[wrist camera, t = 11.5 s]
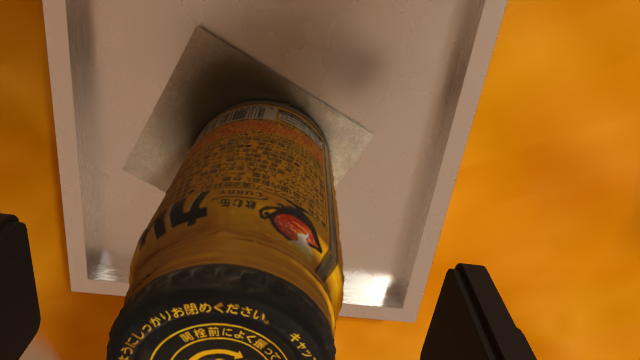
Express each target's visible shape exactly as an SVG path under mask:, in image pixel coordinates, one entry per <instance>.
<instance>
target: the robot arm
mask: <svg viewBox="0 0 640 360" xmlns="http://www.w3.org/2000/svg"><path fill="white" fill-rule="evenodd" d="M40 320H41V317H40V310H39V304H38V297H37V291H36V285H35V278H34V272H33V266H32V259H31V253H30V247H29V240H28V234H27V228H26V225H25V224H24V223H22V222H19V220H18V218H17V217H16V216H15V215H11V214H2V213H0V360H19V358H20V357H21V355H22V354H23V352H24V351H25V350H26V348H27V347H28V345H29V344H30V342H31V341H32V339H33V338H34V336H35V335H36V333H37V331H38V329H39V326H40ZM420 360H537V359H536V357H535V355H534V353H533V351H532V349H531V347H530V346H529V344H528V342H527V340H526V338H525V336H524V334H523V333H522V332H521V330H520V329H518V328H517V327H516V326H515V324H514V322H513V320H512V318H511V316H510V314H509V312H508V310H507V308H506V306H505V304H504V302H503V300H502V298H501V296H500V295H499V293H498V291H497V289H496V287H495V285H494V283H493V281H492V279H491V277H490V275H489V273H488V271H487V269H486V268H485V267H484V266H481V265H472V264H463V263H459V264H457V265H456V267H455V269H449V270H448V271H447V273H446V276H445V279H444V283H443V286H442V289H441V292H440V295H439V298H438V301H437V304H436V307H435V311H434V314H433V317H432V320H431V323H430V326H429V329H428V332H427V336H426V339H425V342H424V345H423V348H422V351H421V356H420Z"/></svg>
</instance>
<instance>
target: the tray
mask: <svg viewBox="0 0 640 360" xmlns="http://www.w3.org/2000/svg"><path fill="white" fill-rule="evenodd" d="M42 3H43V13H44V23H45V33H46V43H47V53H48V63H49V73H50V83H51V93H52V103H53V113H54V123H55V133H56V143H57V153H58V163H59V173H60V183H61V193H62V203H63V213H64V223H65V233H66V243H67V253H68V263H69V273H70V283H71V291H73V292H84V293H95V294H106V295H117V296H126V293H127V291H128V289H129V275H130V266H131V261H132V258H133V255H134V252H135V250H136V247H137V243H138V241H139V239H140V237H141V235H142V233H143V232H144V230H145V229H146V228H147V226H148V224H149V222H150V221H151V219H152V217H153V216H154V214H155V212H156V211H157V209H158V207H159V205H160V204H161V202H162V200H163V198H164V196H165V194H166V193H165V192H163V191H161V190H160V189H158V188H157V187H155V186H153V185H151V184H149V183H147V182H145V181H142V180H140V179H138V178H137V177H135V176H134V175H132V174H130V173H128V172H126V171H124V170H122V169H123V167H124V165H125V163H126V161H127V159H128V157H129V155H130V153H131V152H132V150H133V148H134V146H135V144H136V142H137V140H138V138H139V136H140V134H141V132H142V130H143V129H144V127H145V125H146V123H147V121H148V119H149V117H150V115H151V114H152V113H153V110H154V108H155V106H156V104H157V102H158V100H159V98H160V96H161V94H162V92H163V90H164V89H165V86H166V84H167V82H168V80H169V78H170V77H171V75H172V73H173V71H174V69H175V67H176V65H177V63H178V61H179V59H180V57H181V55H182V53H183V51H184V49H185V47H186V45H187V44H188V41H189V39H190V37H191V35H192V33H193V31H194V29H195V27H196V26H198V27H200V28H201V29H203V30H205V31H206V32H208V33H209V34H211V35H213V36H214V37H216V38H217V39H219V40H220V41H222V42H224V43H225V44H227V45H229V46H231V47H233V48H234V49H236V50H238V51H239V52H241V53H243V54H244V55H246V56H247V57H249V58H251V59H252V60H254V61H255V62H257V63H259V64H260V65H262V66H263V67H265V68H266V69H268V70H269V71H271V72H272V73H274V74H276V75H277V76H279V77H281V78H283V79H285V80H287V81H288V82H290V83H291V84H293V85H294V86H296V87H298V88H300V89H301V90H303V91H305V92H306V93H307V94H309V95H311V96H313V97H315V98H316V99H318V100H319V101H321V102H322V103H324V104H326V105H327V106H328V107H330V108H331V109H333V110H335V111H337V112H338V113H340V114H342V115H343V116H345V117H346V118H348V119H349V120H351V121H353V122H354V123H356V124H357V125H359V126H360V127H362V128H364V129H365V130H367V131H368V132H370V133H372V134H373V135H374V137H373V138H372V140H371V141H370V142H369V144H368V145H367V147H366V148H365V149H364V151H363V152H362V153H361V155H360V156H359V157H358V159H357V160H356V162H355V163H354V164H353V165H352V167H351V168H350V169H349V170H348V172H347V173H346V174H345V175H344V177H343V178H342V179H341V181H340V182H339V184H338V185H337V186H336V188H335V191H336V201H337V209H338V220H339V225H340V226H339V232H340V234H339V238H340V242H341V247H342V258H343V274H344V286H343V292H344V294H343V302H342V307H341V310H340V312H339V315H338V316H346V317H357V318H368V319H379V320H390V321H401V322H412V323H415V321H416V317H417V314H418V310H419V307H420V303H421V300H422V296H423V293H424V289H425V286H426V282H427V279H428V275H429V272H430V268H431V265H432V261H433V258H434V254H435V251H436V247H437V244H438V241H439V237H440V234H441V230H442V227H443V223H444V220H445V216H446V213H447V209H448V206H449V202H450V199H451V195H452V192H453V188H454V185H455V181H456V178H457V174H458V171H459V167H460V164H461V160H462V157H463V154H464V150H465V147H466V143H467V140H468V136H469V133H470V129H471V126H472V122H473V119H474V115H475V112H476V108H477V105H478V101H479V98H480V94H481V91H482V87H483V84H484V80H485V77H486V73H487V70H488V67H489V63H490V60H491V56H492V53H493V49H494V46H495V42H496V39H497V35H498V32H499V28H500V25H501V21H502V18H503V14H504V11H505V7H506V4H507V0H42ZM187 153H188V152H187Z"/></svg>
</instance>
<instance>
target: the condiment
mask: <svg viewBox="0 0 640 360" xmlns="http://www.w3.org/2000/svg"><path fill="white" fill-rule="evenodd" d="M373 137H374V135H373V134H372V133H370V132H368V131H367V130H365V129H364V128H362V127H360V126H359V125H357V124H356V123H354V122H353V121H351V120H349V119H348V118H346V117H345V116H343V115H342V114H340V113H338V112H337V111H335V110H333V109H331V108H330V107H328V106H327V105H326V104H324V103H322V102H321V101H319V100H318V99H316V98H315V97H313V96H311V95H309V94H307V93H306V92H305V91H303V90H301V89H300V88H298V87H296V86H294V85H293V84H291V83H290V82H288V81H287V80H285V79H283V78H281V77H279V76H277V75H276V74H274V73H272V72H271V71H269V70H268V69H266V68H265V67H263V66H262V65H260V64H259V63H257V62H255V61H254V60H252V59H251V58H249V57H247V56H246V55H244V54H243V53H241V52H239V51H238V50H236V49H234V48H233V47H231V46H229V45H227V44H225V43H224V42H222V41H220V40H219V39H217V38H216V37H214V36H213V35H211V34H209V33H208V32H206V31H205V30H203V29H201V28H200V27H198V26H196V27H195V29H194V31H193V33H192V35H191V37H190V39H189V41H188V44H187V45H186V47H185V49H184V51H183V53H182V55H181V57H180V59H179V61H178V63H177V65H176V67H175V69H174V71H173V73H172V75H171V77H170V78H169V80H168V82H167V84H166V86H165V89H164V90H163V92H162V94H161V96H160V98H159V100H158V102H157V104H156V106H155V108H154V110H153V113H152V114H151V115H150V117H149V119H148V121H147V123H146V125H145V127H144V129H143V130H142V132H141V134H140V136H139V138H138V140H137V142H136V144H135V146H134V148H133V150H132V152H131V153H130V155H129V157H128V159H127V161H126V163H125V165H124V167H123V169H122V170H124V171H126V172H128V173H130V174H132V175H134V176H135V177H137V178H138V179H140V180H142V181H145V182H147V183H149V184H151V185H153V186H155V187H157V188H158V189H160V190H161V191H163V192H165V193H166V194H165V196H164V198H163V200H162V202H161V204H160V205H159V207H158V209H157V211H156V212H155V214H154V216H153V217H152V219H151V221H150V222H149V224H148V226H147V228H146V229H145V230H144V232H143V233H142V235H141V237H140V239H139V241H138V243H137V247H136V250H135V252H134V255H133V258H132V261H131V266H130V275H129V289H128V291H127V293H126V297H125V302H124V307H123V308H122V309H121V310H120V313H119V316H118V317H117V318H116V320H115V322H114V324H113V325H112V327H111V331H110V333H109V337H110V340H109V342H108V345H107V359H106V360H335V354H336V348H335V345H334V333H335V322H336V319H337V317H338V315H339V312H340V310H341V307H342V302H343V294H344V292H343V286H344V274H343V258H342V247H341V242H340V238H339V234H340V232H339V226H340V225H339V220H338V209H337V201H336V191H335V188H336V186H337V185H338V184H339V182H340V181H341V179H342V178H343V177H344V175H345V174H346V173H347V172H348V170H349V169H350V168H351V167H352V165H353V164H354V163H355V162H356V160H357V159H358V157H359V156H360V155H361V153H362V152H363V151H364V149H365V148H366V147H367V145H368V144H369V142H370V141H371V140H372V138H373ZM187 152H188V153H187Z"/></svg>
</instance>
